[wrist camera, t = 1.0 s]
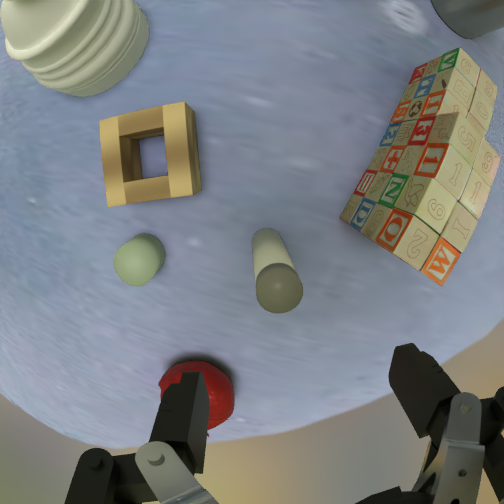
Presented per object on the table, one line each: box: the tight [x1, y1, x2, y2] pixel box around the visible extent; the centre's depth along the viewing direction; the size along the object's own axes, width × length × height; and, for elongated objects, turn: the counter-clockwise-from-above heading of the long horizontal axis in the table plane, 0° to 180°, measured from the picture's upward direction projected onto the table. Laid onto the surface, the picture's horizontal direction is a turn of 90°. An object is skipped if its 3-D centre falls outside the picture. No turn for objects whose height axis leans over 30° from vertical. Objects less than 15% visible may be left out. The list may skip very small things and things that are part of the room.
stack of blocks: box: [340, 48, 501, 286], centre depth 21 cm, size 21×6×12 cm, turn 153°
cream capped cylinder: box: [252, 228, 303, 313], centre depth 24 cm, size 3×3×12 cm
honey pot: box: [0, 0, 149, 97], centre depth 14 cm, size 13×13×18 cm
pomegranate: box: [158, 361, 235, 437], centre depth 31 cm, size 10×10×9 cm
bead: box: [114, 233, 165, 286], centre depth 28 cm, size 4×4×4 cm
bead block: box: [100, 102, 202, 207], centre depth 24 cm, size 8×8×5 cm
